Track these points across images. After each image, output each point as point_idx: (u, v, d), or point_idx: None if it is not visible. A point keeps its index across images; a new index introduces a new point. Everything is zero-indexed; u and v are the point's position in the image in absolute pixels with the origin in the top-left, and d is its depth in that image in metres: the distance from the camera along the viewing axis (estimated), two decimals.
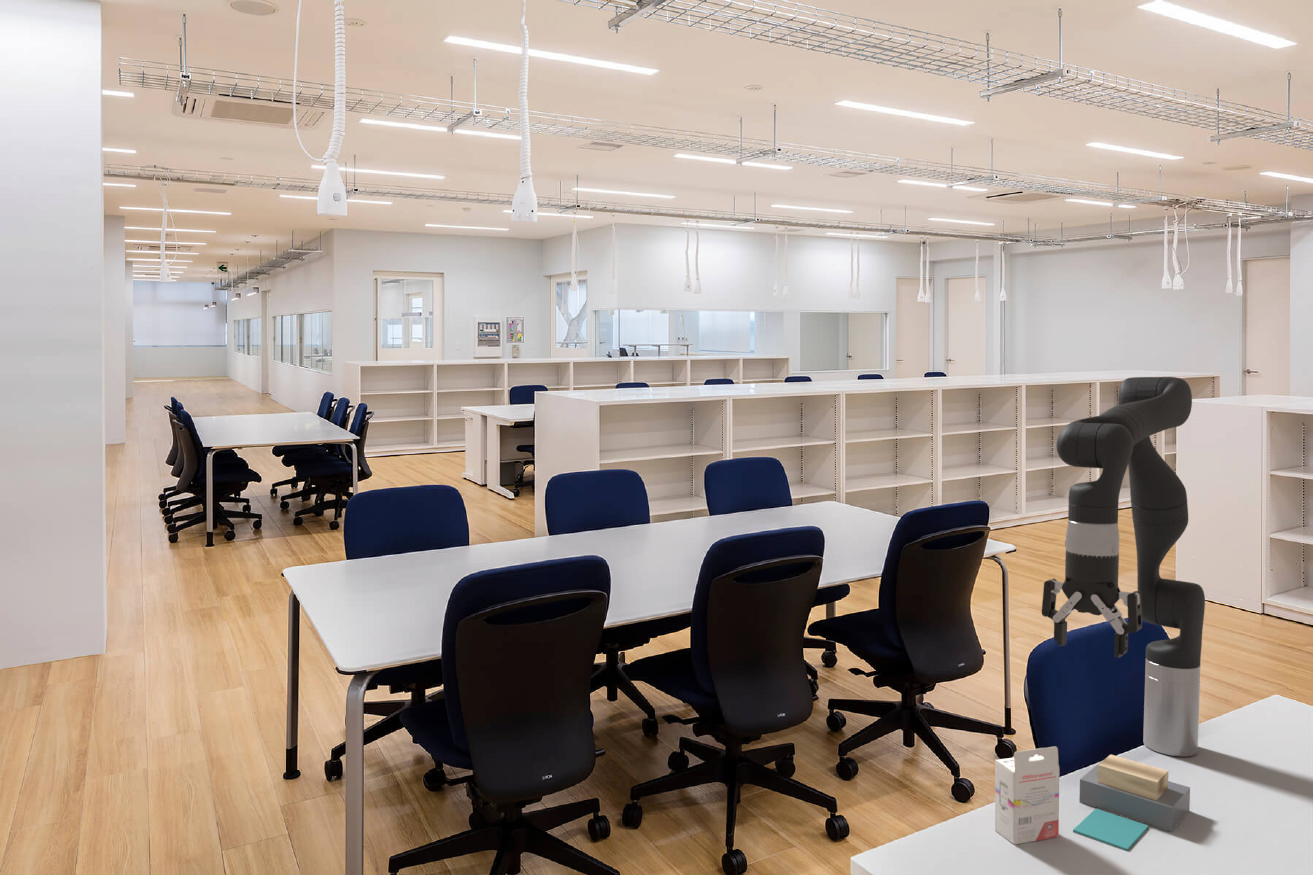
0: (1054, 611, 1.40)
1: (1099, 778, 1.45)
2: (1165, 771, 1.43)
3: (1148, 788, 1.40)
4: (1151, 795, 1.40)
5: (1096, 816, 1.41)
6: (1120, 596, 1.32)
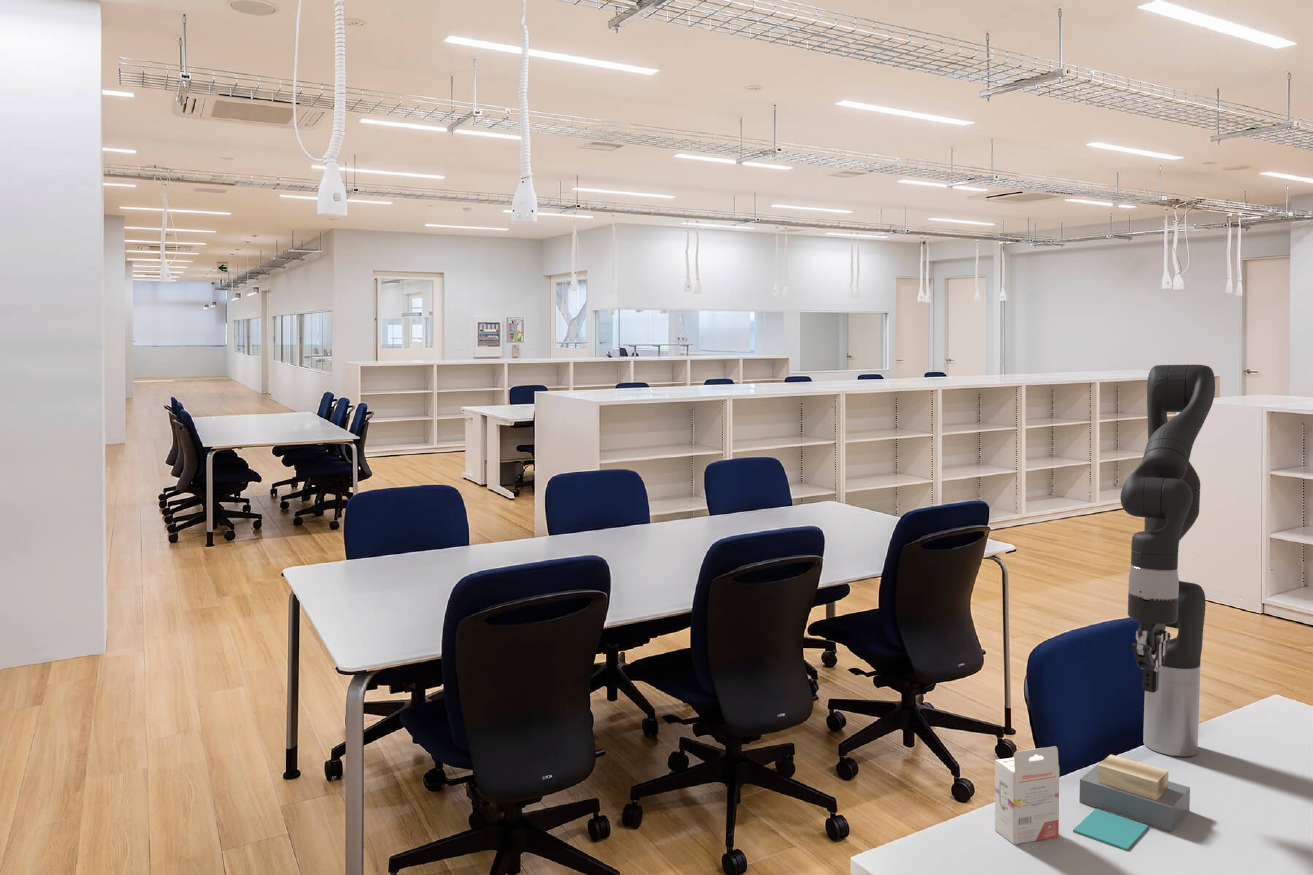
0: None
1: (1099, 778, 1.45)
2: (1165, 771, 1.43)
3: (1148, 788, 1.40)
4: (1151, 795, 1.40)
5: (1096, 816, 1.41)
6: None
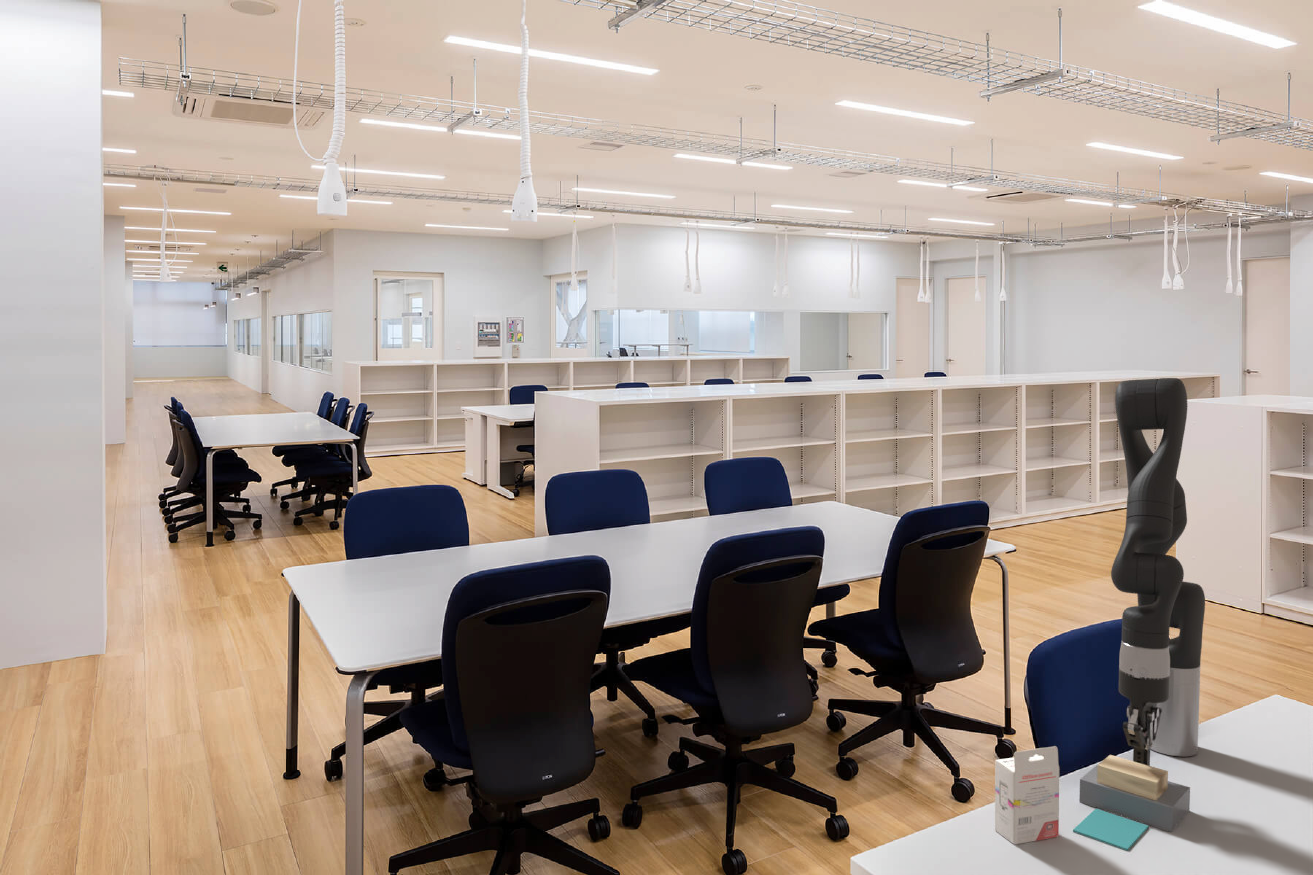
0: None
1: (1099, 779, 1.45)
2: (1165, 771, 1.43)
3: (1147, 788, 1.40)
4: (1150, 795, 1.39)
5: (1096, 816, 1.41)
6: None
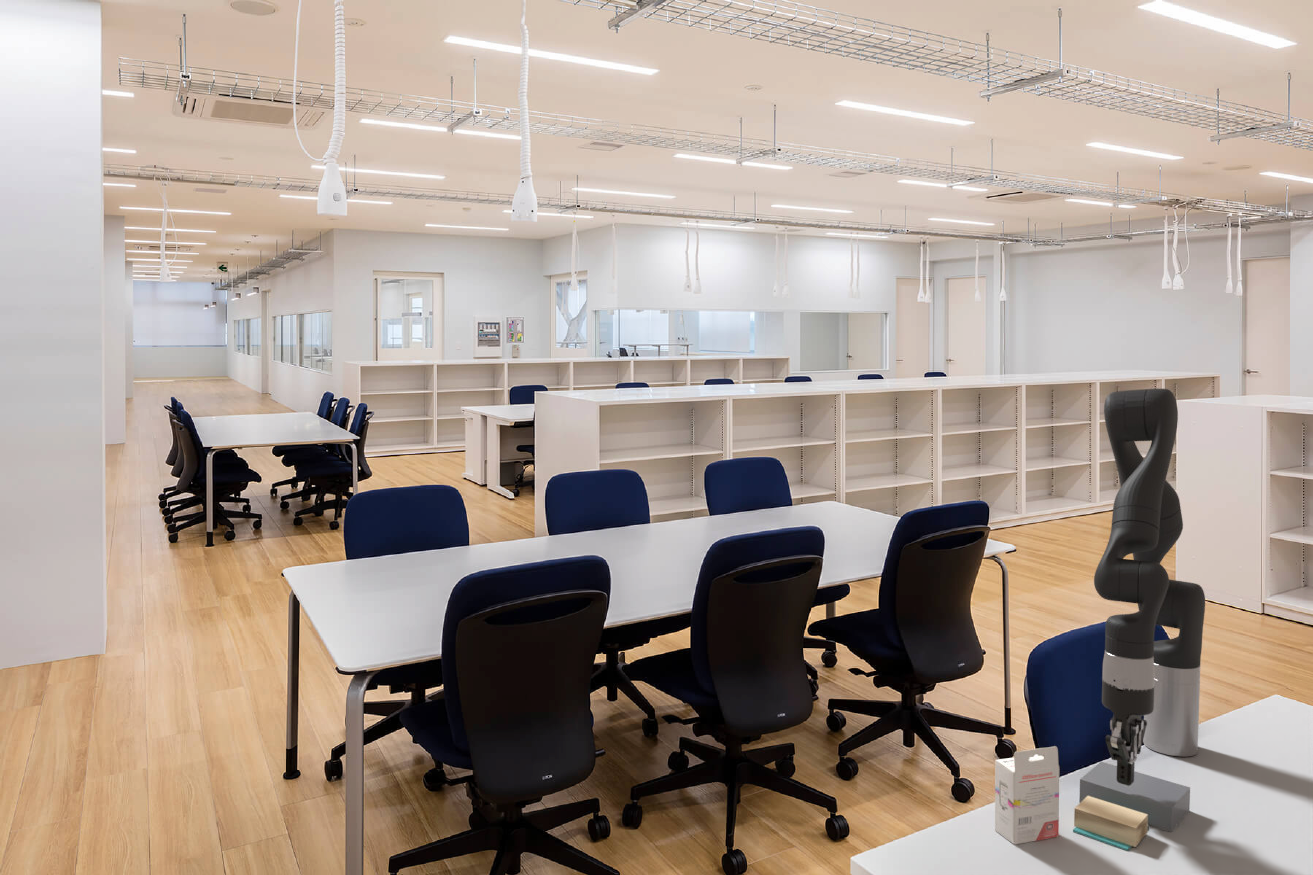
0: None
1: None
2: None
3: None
4: None
5: None
6: None
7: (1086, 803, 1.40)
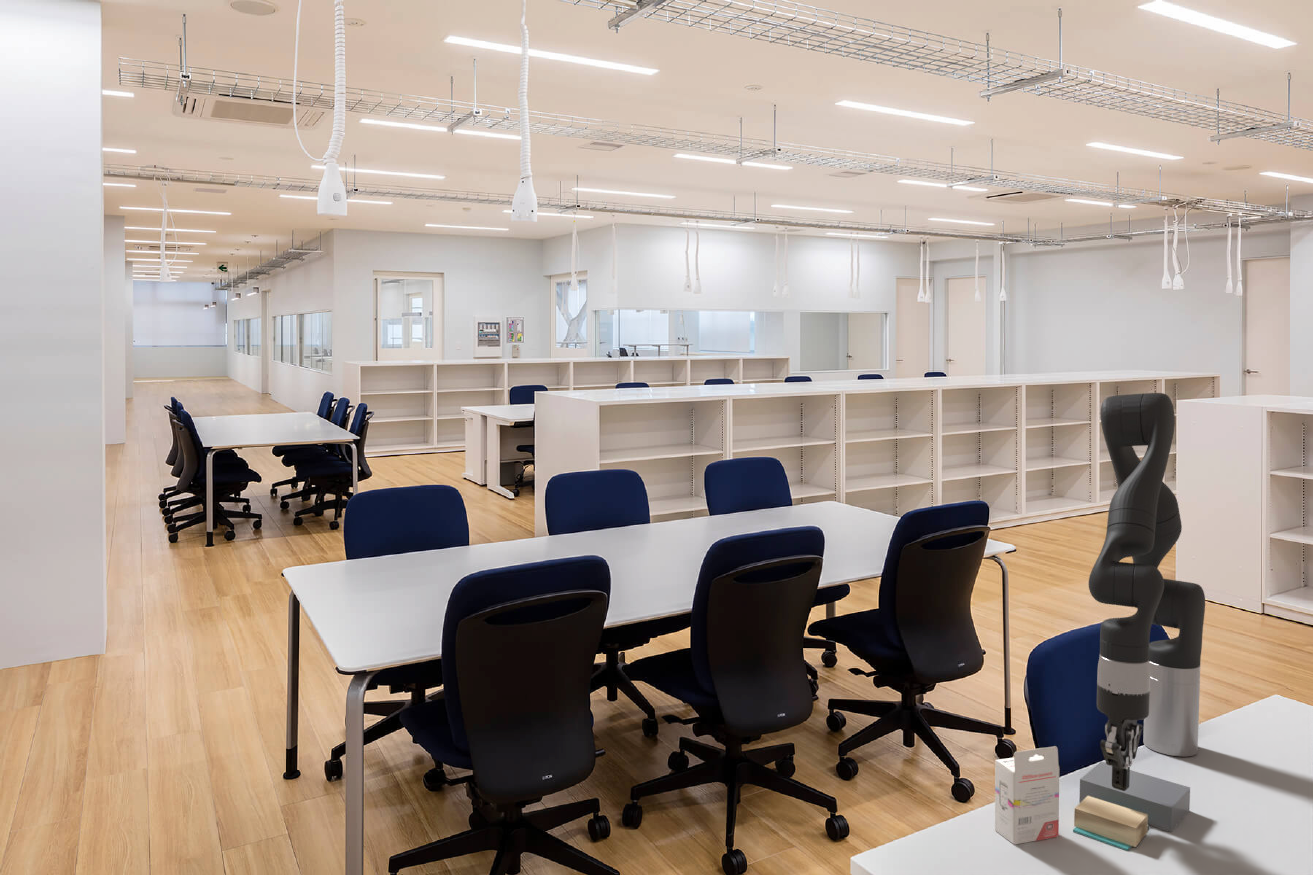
0: None
1: None
2: None
3: None
4: None
5: None
6: None
7: (1086, 803, 1.40)
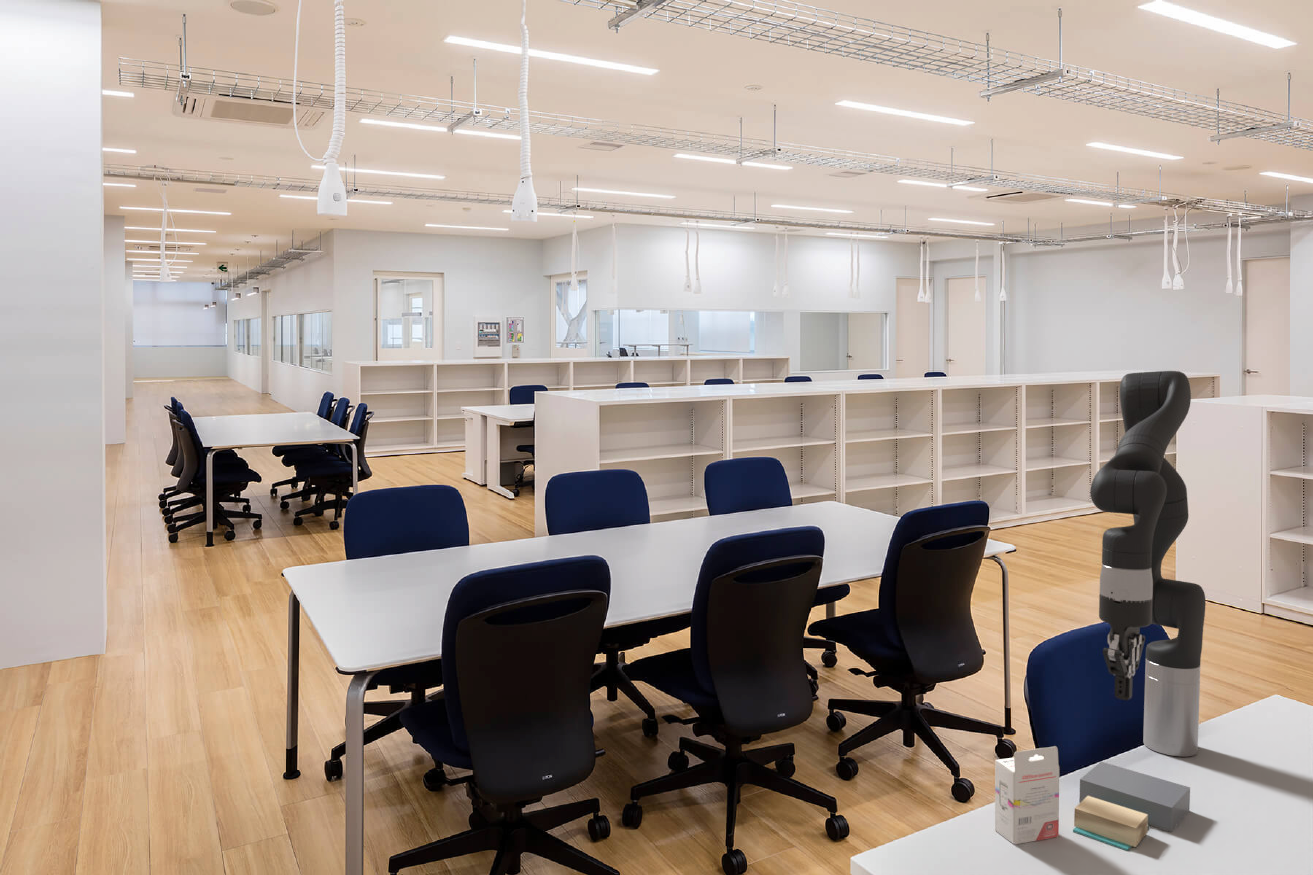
0: None
1: None
2: None
3: None
4: None
5: None
6: None
7: (1086, 803, 1.40)
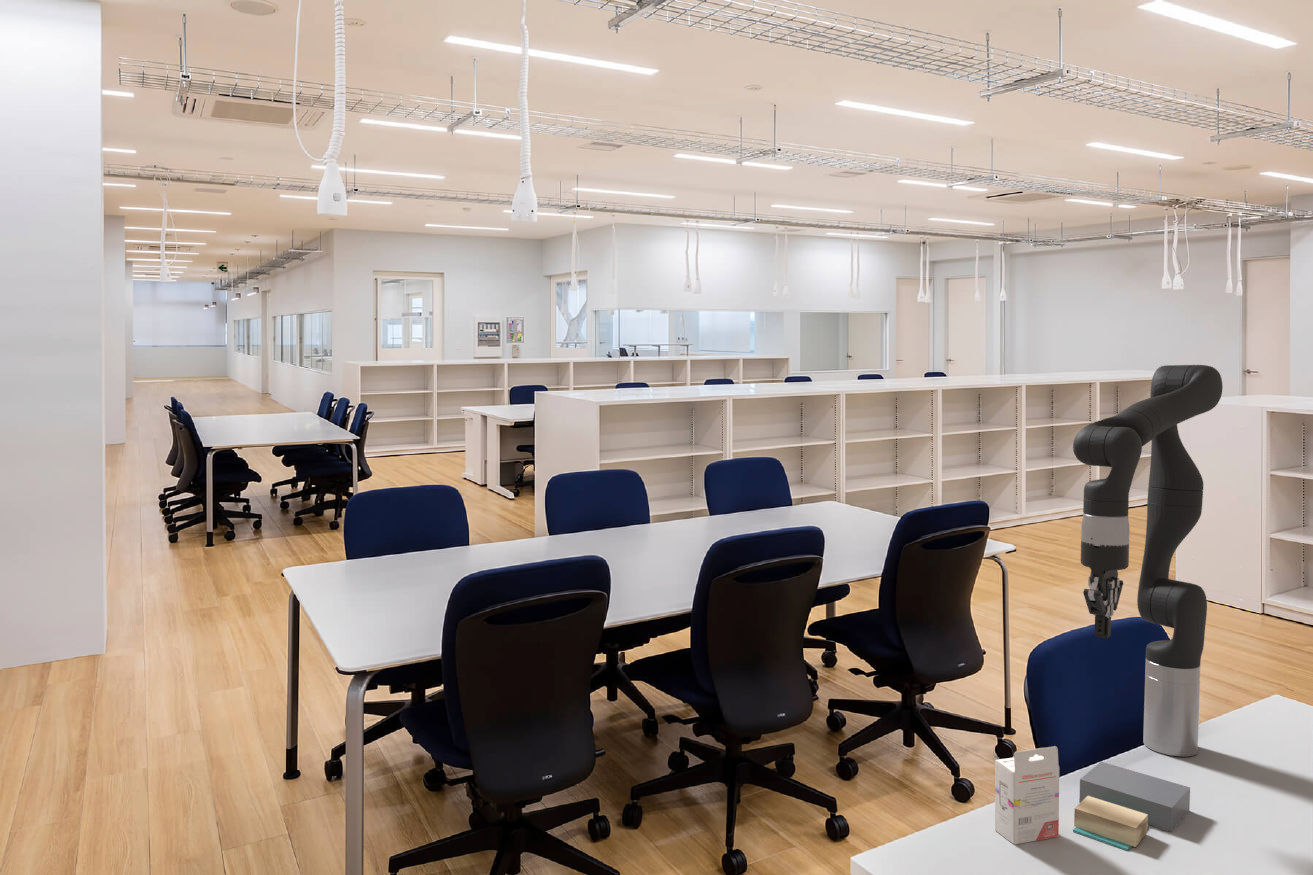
0: None
1: None
2: None
3: None
4: None
5: None
6: None
7: (1086, 803, 1.40)
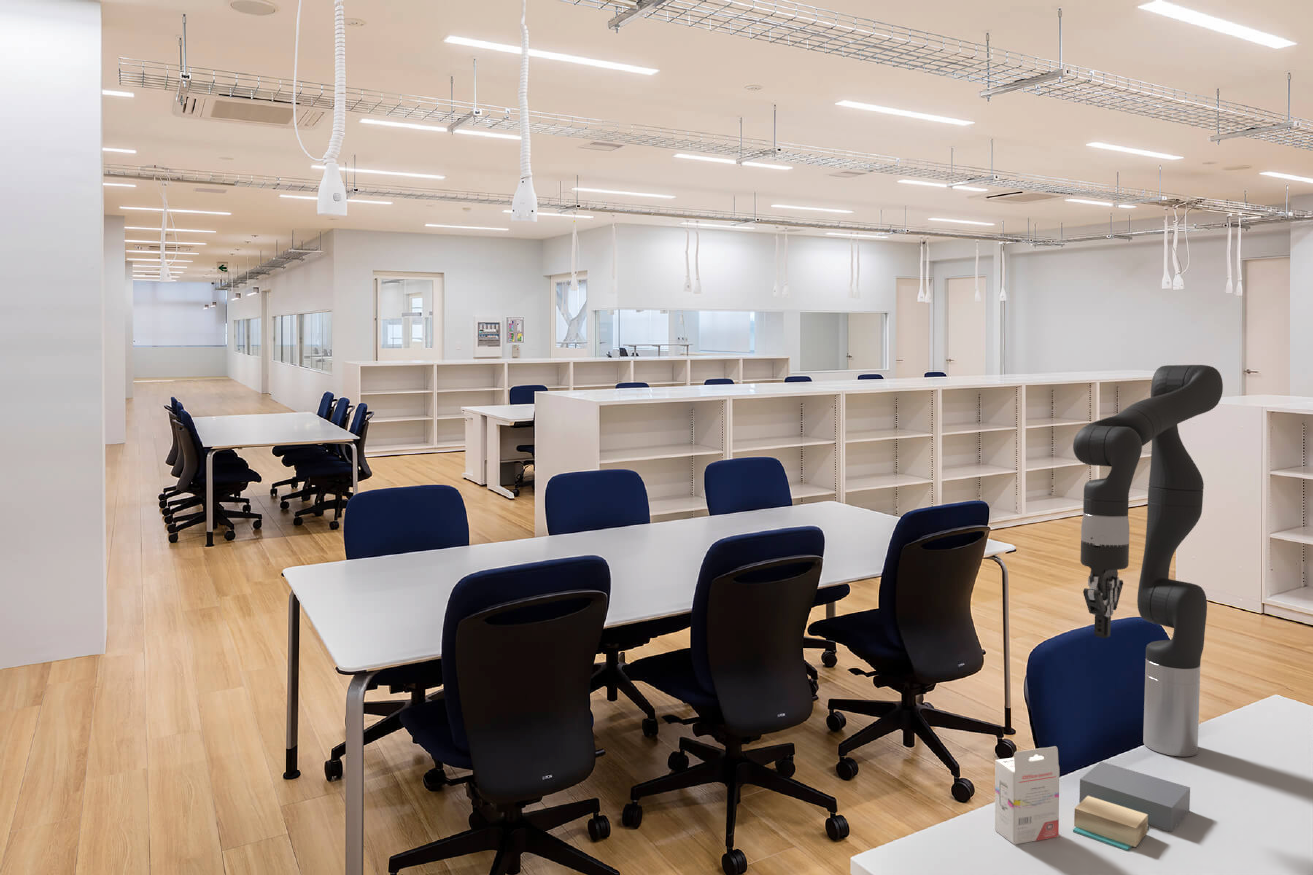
0: None
1: None
2: None
3: None
4: None
5: None
6: None
7: (1086, 803, 1.40)
